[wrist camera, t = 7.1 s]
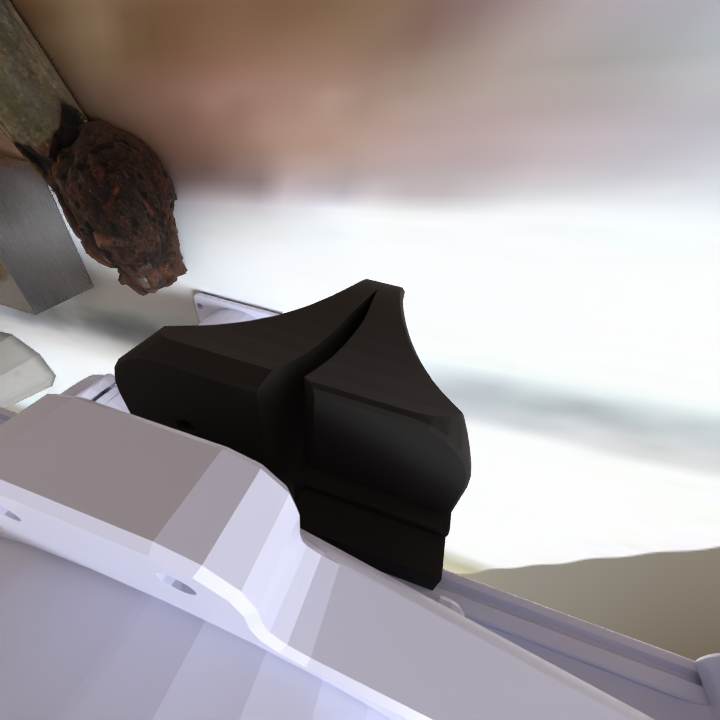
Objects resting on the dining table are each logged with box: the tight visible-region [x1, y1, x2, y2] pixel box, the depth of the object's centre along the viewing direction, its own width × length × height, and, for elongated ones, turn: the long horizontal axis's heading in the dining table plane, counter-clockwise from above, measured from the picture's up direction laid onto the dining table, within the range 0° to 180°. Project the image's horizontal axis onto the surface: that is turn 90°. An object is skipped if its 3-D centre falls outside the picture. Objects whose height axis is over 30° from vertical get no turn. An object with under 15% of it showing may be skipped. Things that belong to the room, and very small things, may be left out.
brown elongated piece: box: [0, 0, 187, 296], centre depth 18 cm, size 18×7×6 cm, turn 26°
